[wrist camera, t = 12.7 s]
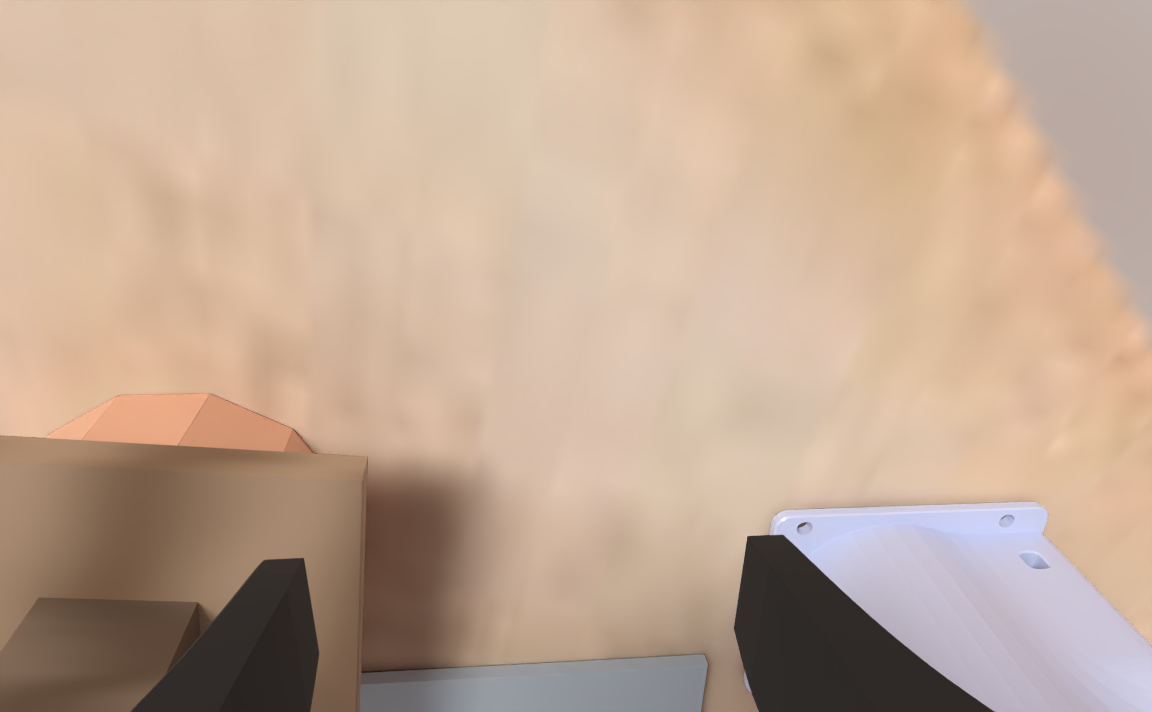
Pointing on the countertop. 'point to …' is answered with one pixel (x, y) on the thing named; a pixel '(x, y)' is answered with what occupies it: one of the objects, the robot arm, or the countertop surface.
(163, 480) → the cover board
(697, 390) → the countertop surface
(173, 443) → the terracotta bowl
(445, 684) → the rubber mat
